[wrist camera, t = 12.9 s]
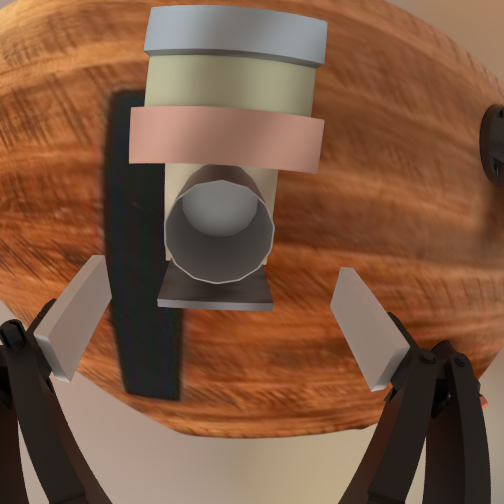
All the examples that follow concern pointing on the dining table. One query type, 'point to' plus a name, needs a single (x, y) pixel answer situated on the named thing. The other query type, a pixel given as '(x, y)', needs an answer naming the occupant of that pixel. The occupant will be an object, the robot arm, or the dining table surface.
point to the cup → (219, 225)
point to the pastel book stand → (227, 116)
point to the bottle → (444, 352)
